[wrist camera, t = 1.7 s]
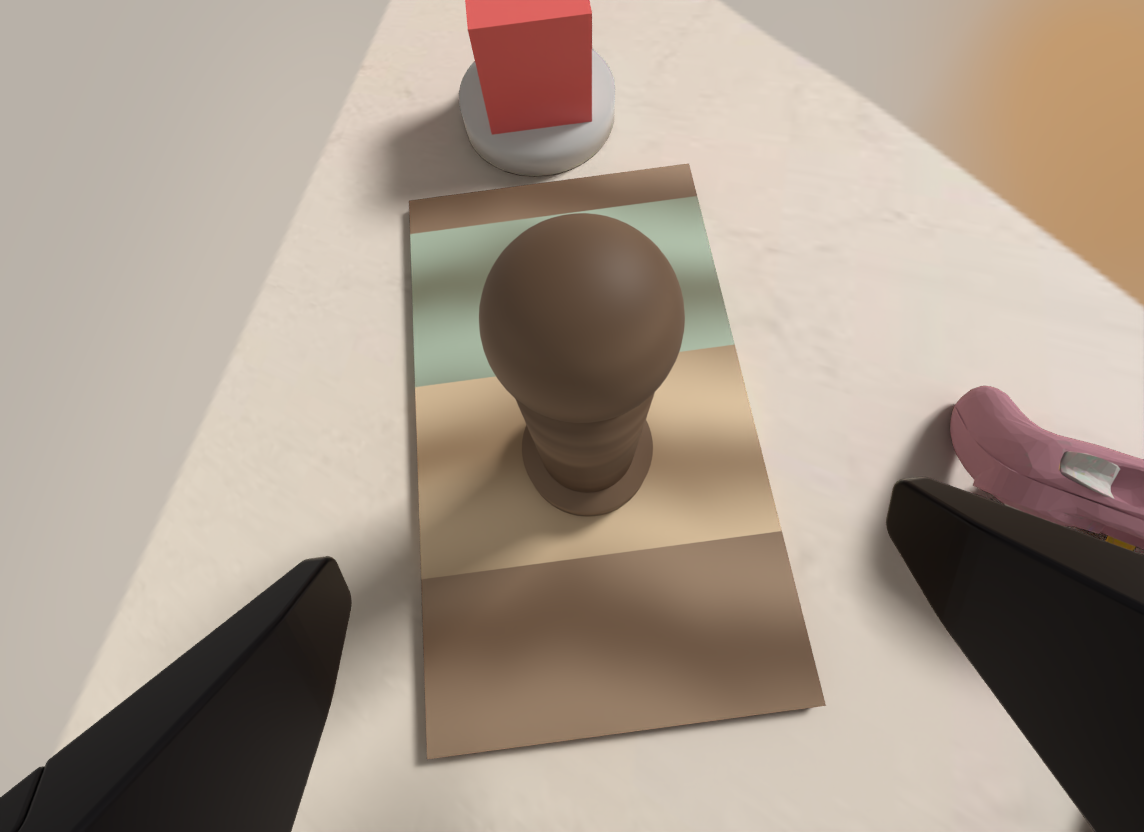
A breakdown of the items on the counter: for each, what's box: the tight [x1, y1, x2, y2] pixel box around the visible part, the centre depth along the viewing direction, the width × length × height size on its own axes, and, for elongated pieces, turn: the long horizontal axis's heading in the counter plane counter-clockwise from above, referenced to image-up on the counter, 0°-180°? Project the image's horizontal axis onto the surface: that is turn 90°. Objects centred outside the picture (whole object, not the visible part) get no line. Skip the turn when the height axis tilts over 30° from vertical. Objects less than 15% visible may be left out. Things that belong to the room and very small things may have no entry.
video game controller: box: [950, 386, 1144, 551], centre depth 17 cm, size 10×5×7 cm, turn 67°
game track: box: [409, 164, 826, 759], centre depth 21 cm, size 24×14×1 cm, turn 7°
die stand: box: [459, 0, 615, 176], centre depth 24 cm, size 8×8×7 cm
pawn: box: [479, 213, 685, 516], centre depth 14 cm, size 5×5×13 cm
